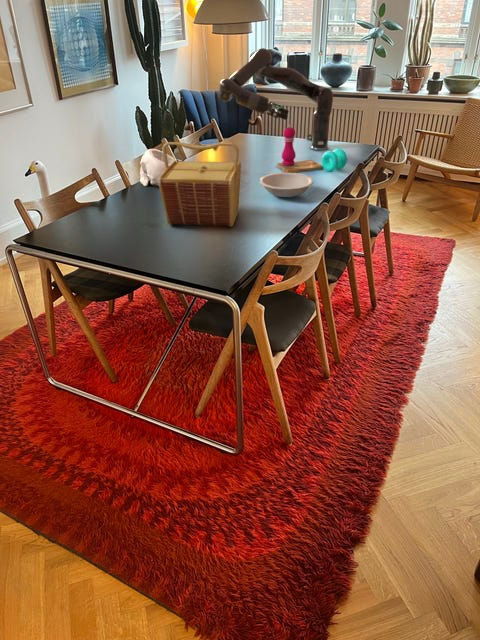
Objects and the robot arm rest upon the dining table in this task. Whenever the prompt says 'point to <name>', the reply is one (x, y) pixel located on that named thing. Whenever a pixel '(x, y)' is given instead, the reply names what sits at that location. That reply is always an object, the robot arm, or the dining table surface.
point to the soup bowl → (286, 184)
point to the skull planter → (153, 166)
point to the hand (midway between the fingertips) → (287, 115)
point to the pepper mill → (288, 147)
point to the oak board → (301, 166)
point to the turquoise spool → (334, 160)
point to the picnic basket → (200, 189)
